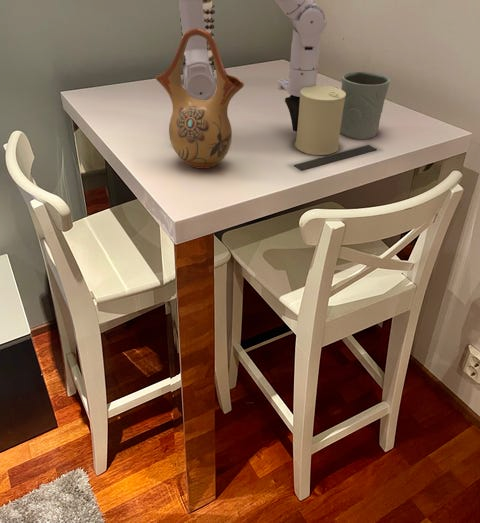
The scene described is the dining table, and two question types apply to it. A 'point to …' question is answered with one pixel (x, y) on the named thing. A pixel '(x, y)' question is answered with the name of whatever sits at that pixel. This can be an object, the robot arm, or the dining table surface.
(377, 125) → the embossed green cup
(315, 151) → the can
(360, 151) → the strip
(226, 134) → the ceramic vessel
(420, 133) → the dining table surface
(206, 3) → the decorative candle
